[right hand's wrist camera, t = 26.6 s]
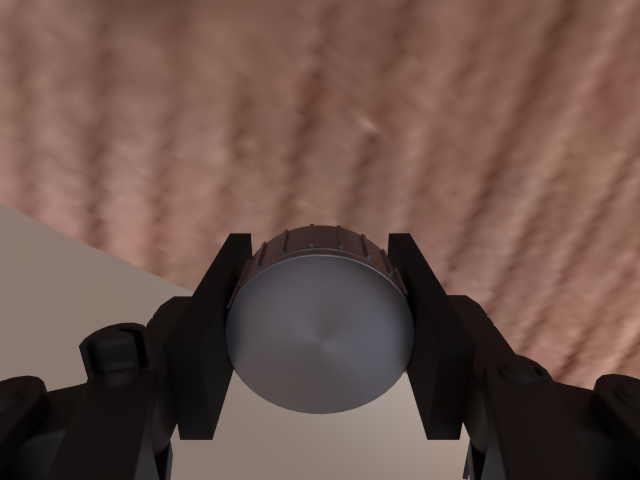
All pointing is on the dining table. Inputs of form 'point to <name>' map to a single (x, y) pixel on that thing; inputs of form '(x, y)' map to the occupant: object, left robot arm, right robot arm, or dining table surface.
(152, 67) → the dining table surface
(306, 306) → the lid
